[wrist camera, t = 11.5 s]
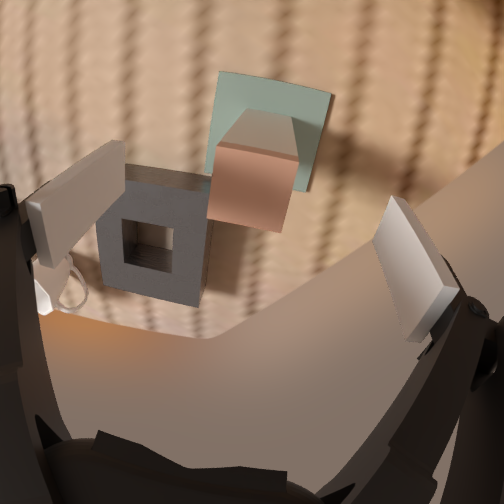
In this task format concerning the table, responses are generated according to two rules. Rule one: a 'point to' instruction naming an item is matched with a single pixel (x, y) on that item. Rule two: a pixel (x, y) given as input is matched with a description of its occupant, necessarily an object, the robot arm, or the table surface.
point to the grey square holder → (163, 214)
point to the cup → (55, 285)
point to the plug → (254, 171)
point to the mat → (276, 101)
